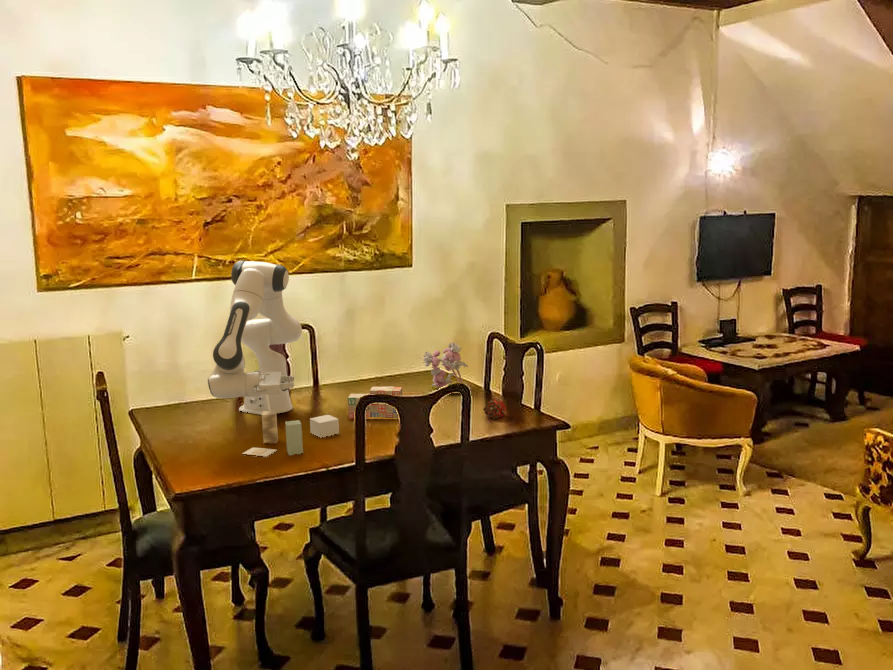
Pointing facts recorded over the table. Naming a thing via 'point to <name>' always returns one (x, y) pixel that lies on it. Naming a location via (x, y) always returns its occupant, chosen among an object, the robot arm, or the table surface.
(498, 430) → the table surface
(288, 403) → the robot arm
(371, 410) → the stack of blocks
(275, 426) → the birch block
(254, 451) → the card
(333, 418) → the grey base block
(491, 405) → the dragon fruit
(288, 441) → the sage block
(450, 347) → the flower
